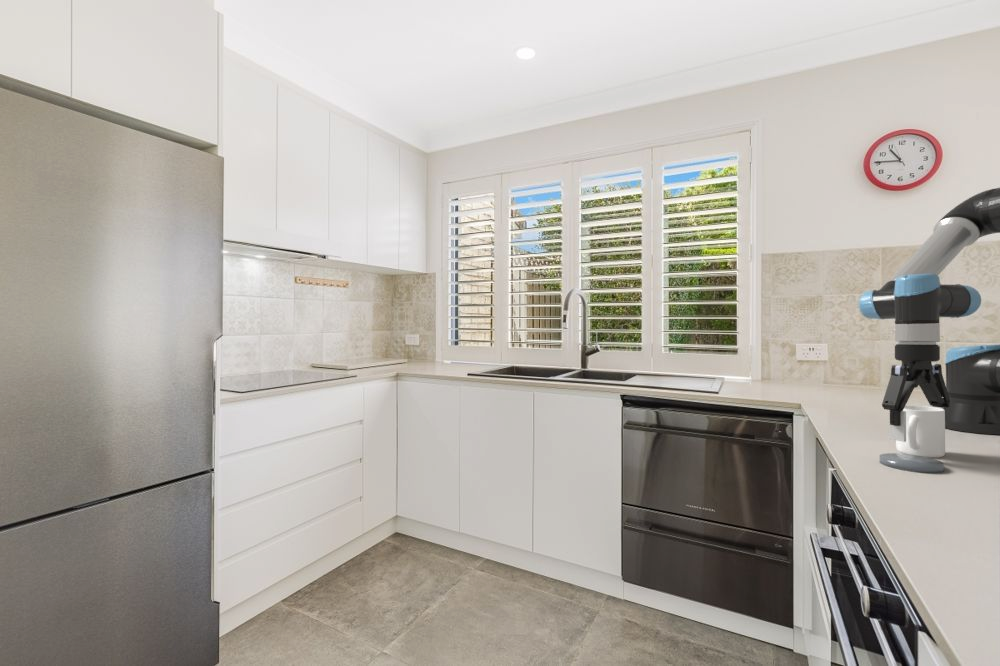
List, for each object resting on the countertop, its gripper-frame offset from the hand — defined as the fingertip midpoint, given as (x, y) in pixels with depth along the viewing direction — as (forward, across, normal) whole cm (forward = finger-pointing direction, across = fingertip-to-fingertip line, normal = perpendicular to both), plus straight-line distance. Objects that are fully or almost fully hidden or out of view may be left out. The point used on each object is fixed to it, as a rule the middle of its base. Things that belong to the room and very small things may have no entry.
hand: (916, 437), depth 104 cm
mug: (+4, 0, 0) cm, 4 cm away
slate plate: (+4, +11, +4) cm, 12 cm away
